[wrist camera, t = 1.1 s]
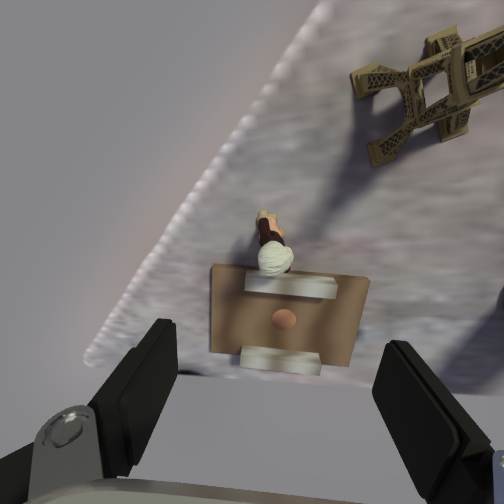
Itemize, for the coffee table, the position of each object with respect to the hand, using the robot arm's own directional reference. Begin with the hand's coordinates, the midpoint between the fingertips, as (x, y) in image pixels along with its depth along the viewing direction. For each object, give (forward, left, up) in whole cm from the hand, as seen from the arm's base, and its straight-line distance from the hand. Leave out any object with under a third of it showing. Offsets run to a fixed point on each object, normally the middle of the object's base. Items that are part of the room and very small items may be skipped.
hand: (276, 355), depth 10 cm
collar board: (-3, +13, -23) cm, 27 cm away
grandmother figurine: (0, 0, -23) cm, 23 cm away
